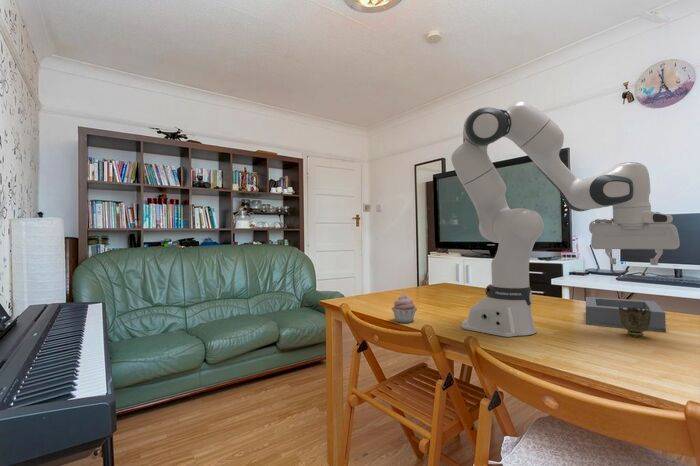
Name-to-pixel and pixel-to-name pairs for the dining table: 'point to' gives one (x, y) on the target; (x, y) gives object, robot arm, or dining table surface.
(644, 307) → the gray square tray
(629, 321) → the wire cup brush
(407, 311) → the cupcake
